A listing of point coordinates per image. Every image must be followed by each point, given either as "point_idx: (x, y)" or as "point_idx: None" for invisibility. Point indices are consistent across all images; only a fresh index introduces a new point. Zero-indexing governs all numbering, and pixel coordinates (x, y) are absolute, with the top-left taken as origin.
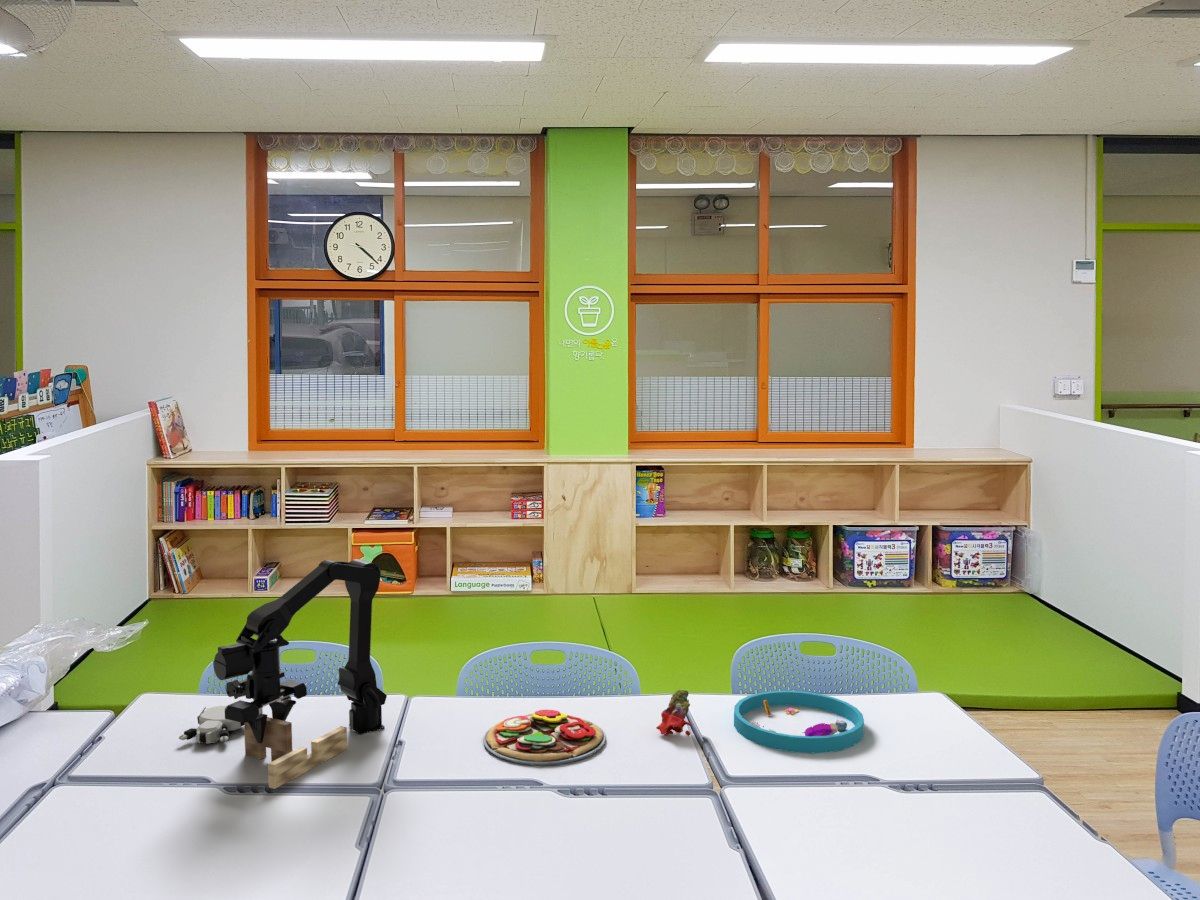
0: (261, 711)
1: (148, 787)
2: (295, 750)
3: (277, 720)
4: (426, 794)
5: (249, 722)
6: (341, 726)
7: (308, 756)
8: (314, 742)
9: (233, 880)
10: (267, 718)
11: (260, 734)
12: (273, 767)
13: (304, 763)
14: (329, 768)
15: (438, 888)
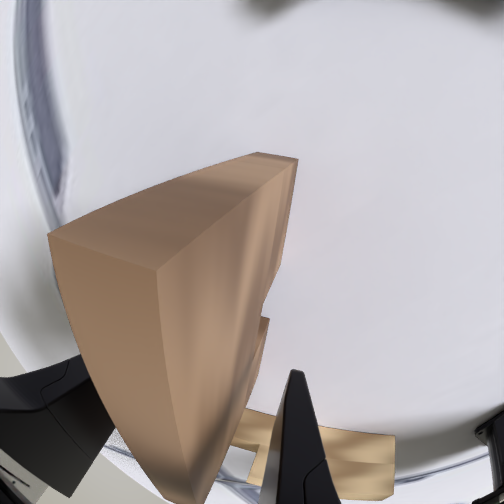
0: (32, 493)
1: (12, 77)
2: None
3: (180, 493)
4: (232, 497)
5: (25, 385)
6: (389, 495)
7: (232, 440)
8: (247, 479)
9: (23, 362)
10: (166, 469)
11: None
12: None
13: None
14: None
15: (118, 467)
